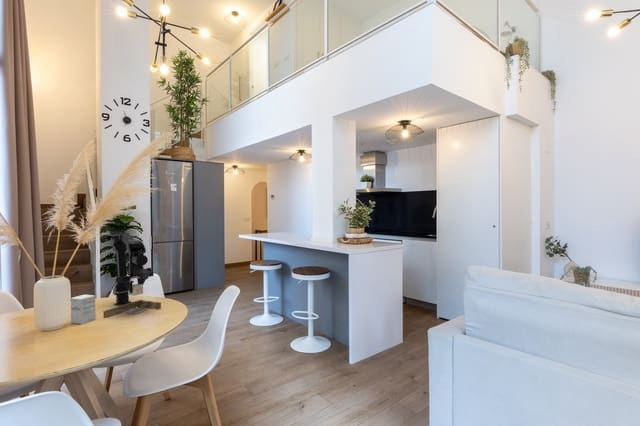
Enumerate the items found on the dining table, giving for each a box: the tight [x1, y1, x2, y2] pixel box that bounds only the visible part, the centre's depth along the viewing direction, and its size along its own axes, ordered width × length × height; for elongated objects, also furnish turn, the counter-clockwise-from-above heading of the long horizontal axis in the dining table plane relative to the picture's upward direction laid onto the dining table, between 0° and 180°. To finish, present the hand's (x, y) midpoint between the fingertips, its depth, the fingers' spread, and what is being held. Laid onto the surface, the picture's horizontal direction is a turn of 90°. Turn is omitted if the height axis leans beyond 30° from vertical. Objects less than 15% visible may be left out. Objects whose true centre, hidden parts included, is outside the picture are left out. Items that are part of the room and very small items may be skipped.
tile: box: [123, 307, 149, 315], centre depth 170 cm, size 8×8×1 cm
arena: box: [103, 299, 162, 319], centre depth 168 cm, size 16×22×4 cm
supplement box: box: [70, 294, 96, 325], centre depth 156 cm, size 7×7×13 cm
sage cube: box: [128, 283, 144, 297], centre depth 170 cm, size 5×5×5 cm
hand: (135, 292), depth 170 cm, fingers closed on sage cube, 5 cm apart
